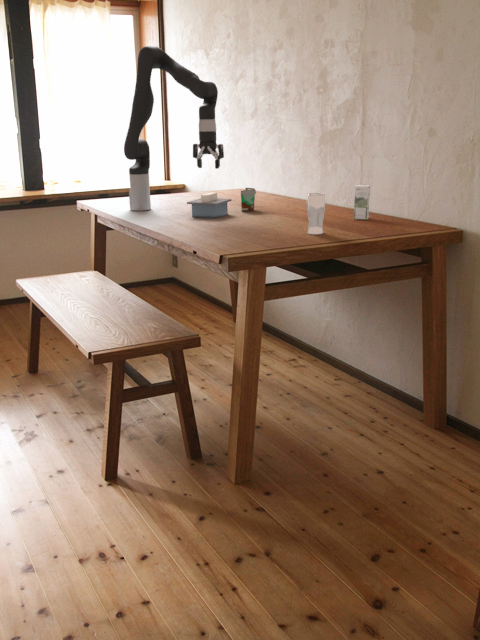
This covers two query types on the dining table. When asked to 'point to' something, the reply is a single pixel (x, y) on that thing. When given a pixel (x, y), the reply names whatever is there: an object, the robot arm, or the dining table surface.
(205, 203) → the lid
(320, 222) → the beer glass
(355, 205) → the syrup box
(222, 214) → the dish
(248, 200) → the food container
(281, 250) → the dining table surface
